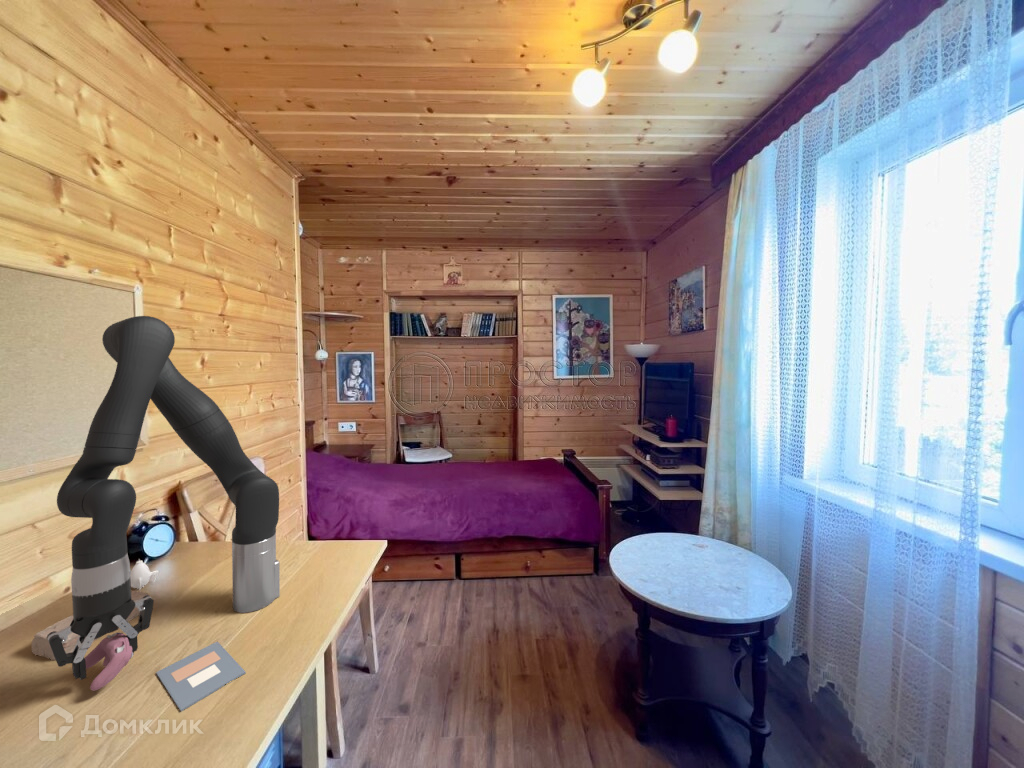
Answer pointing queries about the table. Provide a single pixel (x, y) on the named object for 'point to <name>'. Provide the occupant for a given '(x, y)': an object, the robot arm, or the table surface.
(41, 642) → the brick
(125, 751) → the table surface
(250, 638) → the table surface
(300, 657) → the table surface
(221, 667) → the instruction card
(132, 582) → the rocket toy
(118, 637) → the video game controller
